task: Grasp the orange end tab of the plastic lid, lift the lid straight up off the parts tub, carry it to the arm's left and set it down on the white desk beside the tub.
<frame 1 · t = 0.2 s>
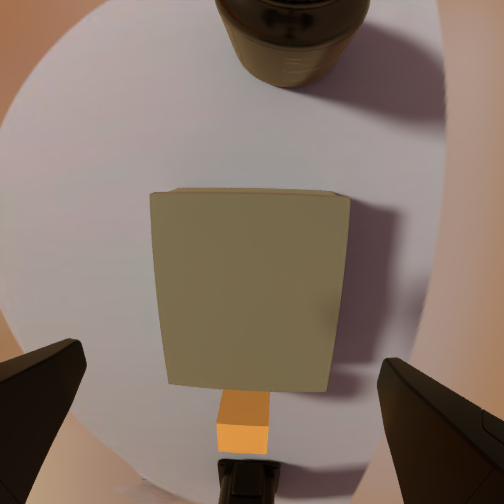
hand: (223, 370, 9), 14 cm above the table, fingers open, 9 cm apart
supplement bottle: (286, 43, 18), on the table
tub: (251, 275, 23), on the table
lid: (247, 300, 19), point 4 cm above the table, touching tub
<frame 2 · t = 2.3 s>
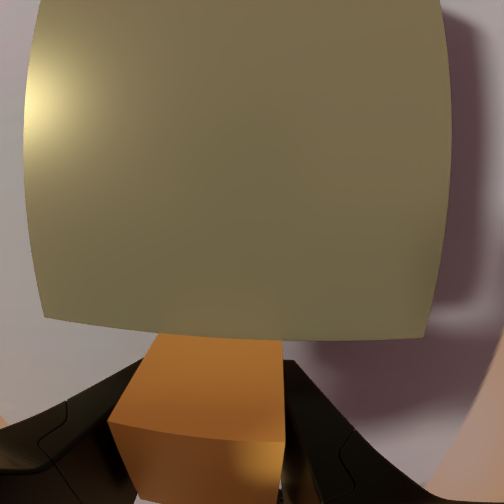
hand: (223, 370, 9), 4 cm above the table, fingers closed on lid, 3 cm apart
lid: (223, 71, 7), point 4 cm above the table, touching gripper, tub
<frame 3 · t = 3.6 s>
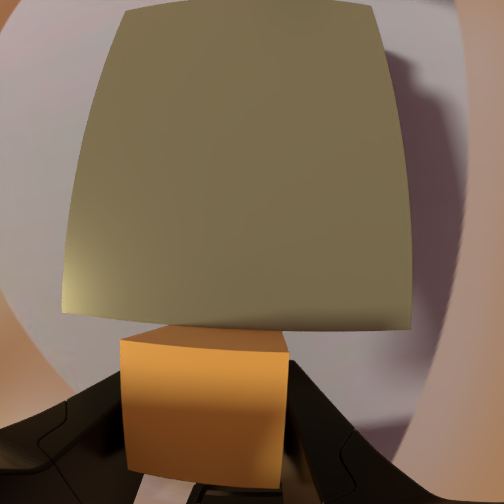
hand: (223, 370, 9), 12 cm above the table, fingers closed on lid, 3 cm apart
lid: (237, 127, 10), point 9 cm above the table, tilted 23°, touching gripper
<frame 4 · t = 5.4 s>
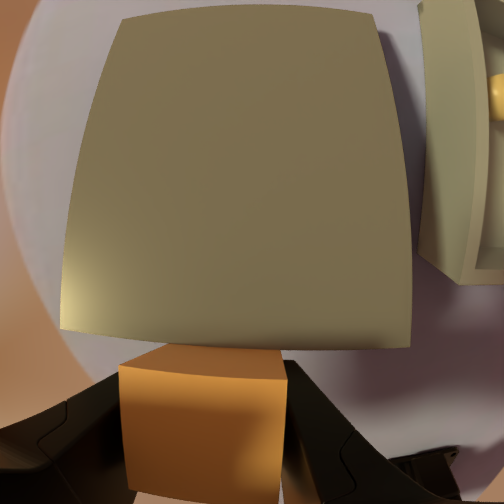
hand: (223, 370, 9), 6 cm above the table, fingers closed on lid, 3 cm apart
lid: (236, 141, 10), point 3 cm above the table, tilted 24°, touching gripper
when the fingers open (3 cm above the table, at t = 6.7 s): lid stays where it is, point 1 cm above the table.
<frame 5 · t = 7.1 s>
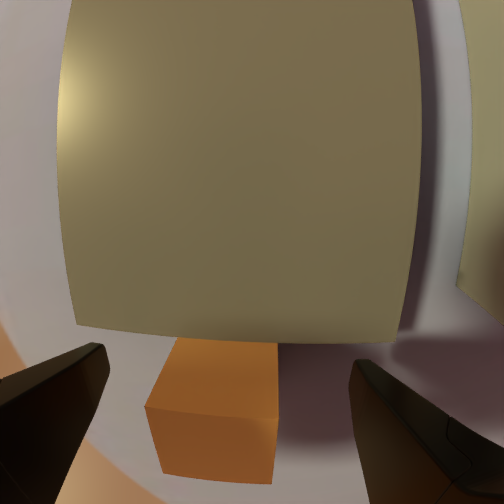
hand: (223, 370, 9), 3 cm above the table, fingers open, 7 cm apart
lid: (230, 123, 8), point 1 cm above the table
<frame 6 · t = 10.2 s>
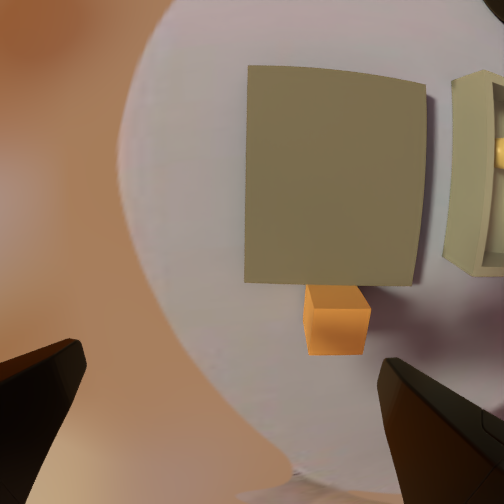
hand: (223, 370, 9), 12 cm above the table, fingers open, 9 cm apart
tub: (503, 177, 17), on the table
lid: (338, 177, 18), point 1 cm above the table
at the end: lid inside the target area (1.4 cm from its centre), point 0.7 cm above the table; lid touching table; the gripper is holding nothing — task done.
